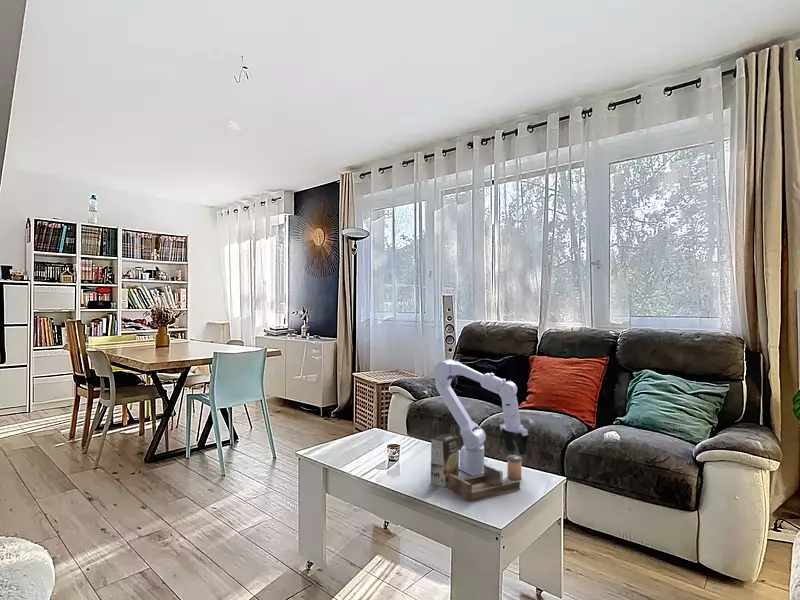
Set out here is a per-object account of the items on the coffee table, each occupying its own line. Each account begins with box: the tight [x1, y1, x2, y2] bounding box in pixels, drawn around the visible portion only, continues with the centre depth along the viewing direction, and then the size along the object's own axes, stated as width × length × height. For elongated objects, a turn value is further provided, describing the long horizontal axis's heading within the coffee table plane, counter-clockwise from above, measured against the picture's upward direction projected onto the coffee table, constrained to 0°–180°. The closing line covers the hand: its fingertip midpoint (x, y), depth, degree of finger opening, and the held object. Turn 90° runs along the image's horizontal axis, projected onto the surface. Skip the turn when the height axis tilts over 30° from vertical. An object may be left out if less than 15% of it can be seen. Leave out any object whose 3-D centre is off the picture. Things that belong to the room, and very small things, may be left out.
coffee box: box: [430, 433, 460, 488], centre depth 176 cm, size 9×6×16 cm
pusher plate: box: [484, 463, 504, 486], centre depth 172 cm, size 8×1×6 cm, turn 30°
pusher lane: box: [447, 473, 521, 503], centre depth 170 cm, size 12×22×6 cm, turn 120°
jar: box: [506, 454, 523, 481], centre depth 181 cm, size 5×5×8 cm
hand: (516, 452), depth 179 cm, fingers open, 7 cm apart
